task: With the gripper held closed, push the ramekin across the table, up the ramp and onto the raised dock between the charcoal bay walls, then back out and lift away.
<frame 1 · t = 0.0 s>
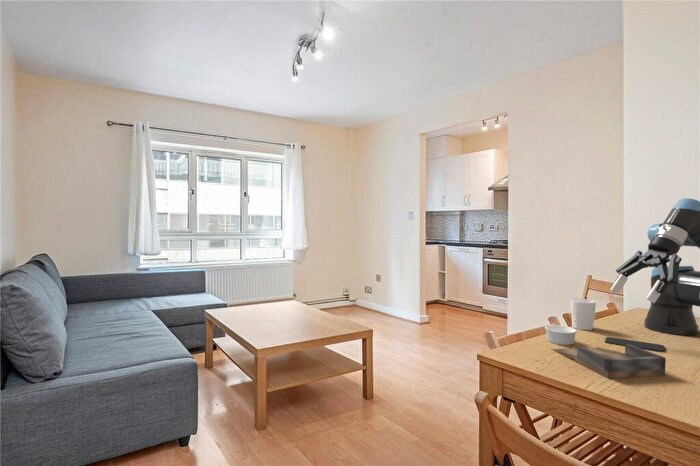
hand: (630, 296, 123), 15 cm above the table, tool tilted 35°, fingers open, 13 cm apart
phone: (633, 346, 123), on the table
dock: (602, 361, 108), on the table
ramekin: (560, 342, 126), on the table
white cup: (582, 328, 143), on the table
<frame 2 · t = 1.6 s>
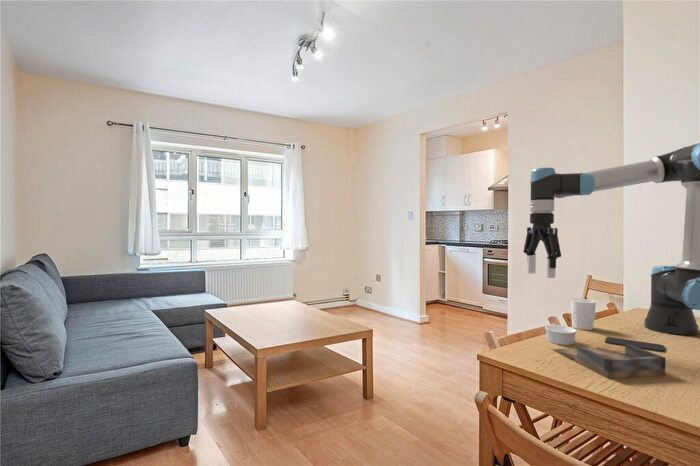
hand: (540, 275, 136), 20 cm above the table, tool pointing down, fingers open, 10 cm apart
nothing on the table moved.
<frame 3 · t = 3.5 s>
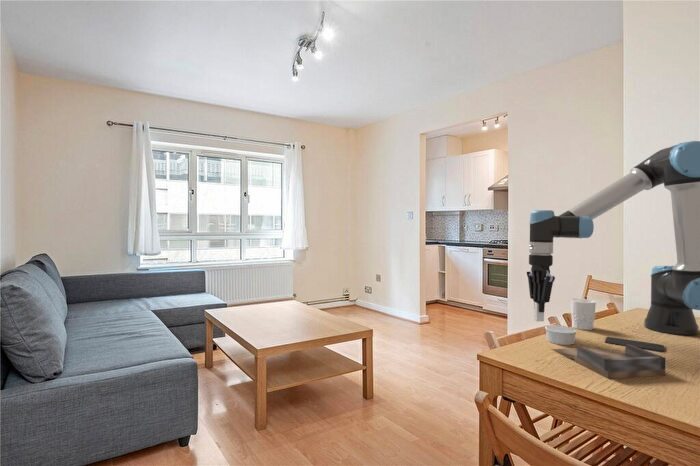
hand: (538, 320, 137), 4 cm above the table, tool pointing down, fingers closed
nothing on the table moved.
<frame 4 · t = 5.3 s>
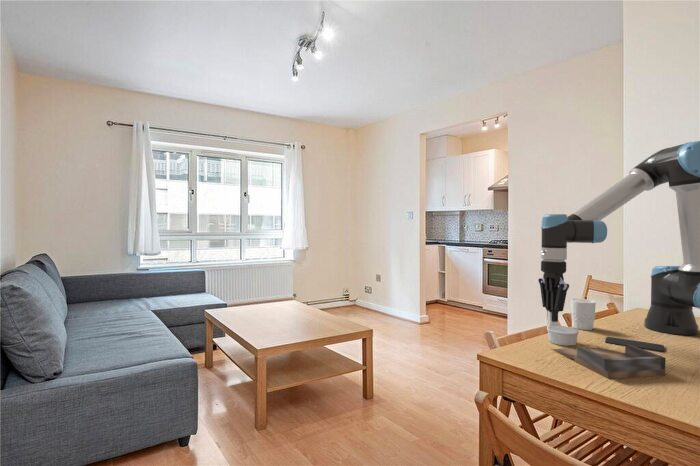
hand: (552, 330, 130), 2 cm above the table, tool pointing down, fingers closed
ramekin: (562, 342, 125), on the table, touching gripper
everything else where it was.
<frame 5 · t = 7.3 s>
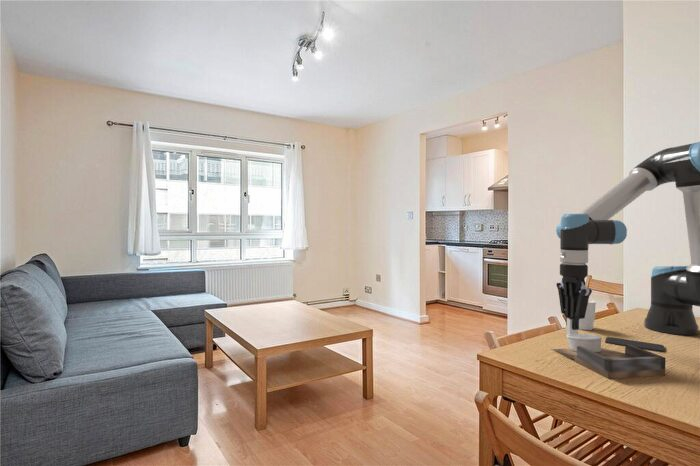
hand: (572, 339, 121), 2 cm above the table, tool pointing down, fingers closed
ramekin: (585, 351, 115), resting in dock, touching gripper
everything else where it was.
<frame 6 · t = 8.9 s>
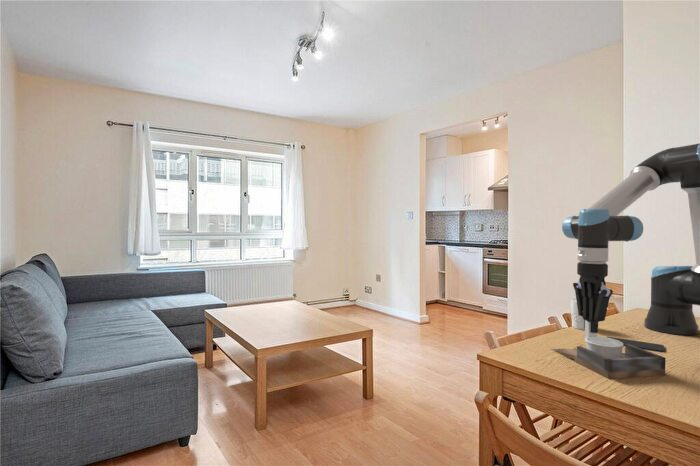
hand: (590, 342, 113), 4 cm above the table, tool pointing down, fingers closed
ramekin: (603, 357, 108), point 1 cm above the table, touching gripper
everything else where it was.
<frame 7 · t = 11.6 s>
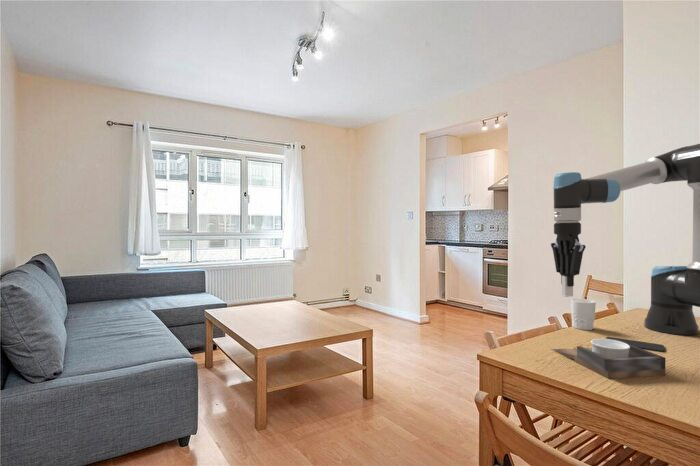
hand: (567, 296, 123), 15 cm above the table, tool pointing down, fingers closed
ramekin: (609, 359, 106), point 1 cm above the table, touching dock
everything else where it was.
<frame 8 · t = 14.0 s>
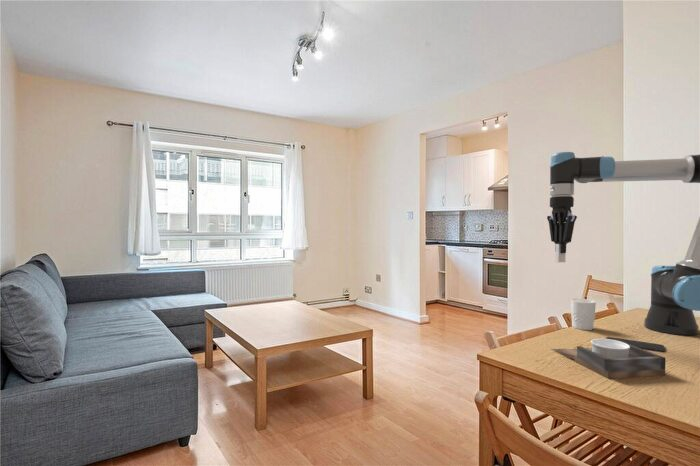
hand: (560, 262, 139), 24 cm above the table, tool pointing down, fingers closed
nothing on the table moved.
at the end: ramekin inside the target area on the dock (3.3 cm from its centre), point 1.3 cm above the dock's base; ramekin tilted 0°; the gripper is holding nothing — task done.
